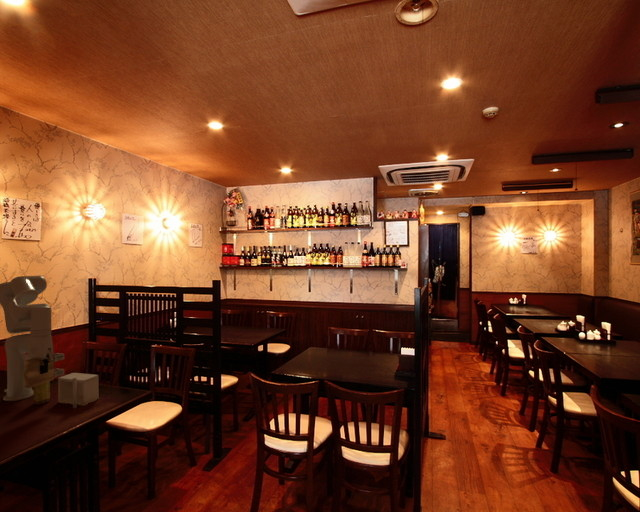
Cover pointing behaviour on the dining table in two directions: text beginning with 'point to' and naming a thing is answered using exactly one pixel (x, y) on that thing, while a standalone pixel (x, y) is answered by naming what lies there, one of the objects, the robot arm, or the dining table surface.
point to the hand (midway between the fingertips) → (40, 372)
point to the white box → (78, 389)
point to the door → (33, 371)
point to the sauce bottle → (42, 393)
